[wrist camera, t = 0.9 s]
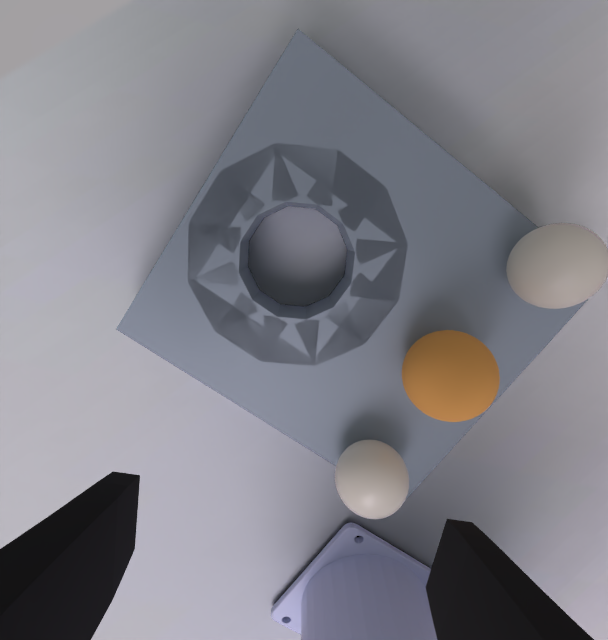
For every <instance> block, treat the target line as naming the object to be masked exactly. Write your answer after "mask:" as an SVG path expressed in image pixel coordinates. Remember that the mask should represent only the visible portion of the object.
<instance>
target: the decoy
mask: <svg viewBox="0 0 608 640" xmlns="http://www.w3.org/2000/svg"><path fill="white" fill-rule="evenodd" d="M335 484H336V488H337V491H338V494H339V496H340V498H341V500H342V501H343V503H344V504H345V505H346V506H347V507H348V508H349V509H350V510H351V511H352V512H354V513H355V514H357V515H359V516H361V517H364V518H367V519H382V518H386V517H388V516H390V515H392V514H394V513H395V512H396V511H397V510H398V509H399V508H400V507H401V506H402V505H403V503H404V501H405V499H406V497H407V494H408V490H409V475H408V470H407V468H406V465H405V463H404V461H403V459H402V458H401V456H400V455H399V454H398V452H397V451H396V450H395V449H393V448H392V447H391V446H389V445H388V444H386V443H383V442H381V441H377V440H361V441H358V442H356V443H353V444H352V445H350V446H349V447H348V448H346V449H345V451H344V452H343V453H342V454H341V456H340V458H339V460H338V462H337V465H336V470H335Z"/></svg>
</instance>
